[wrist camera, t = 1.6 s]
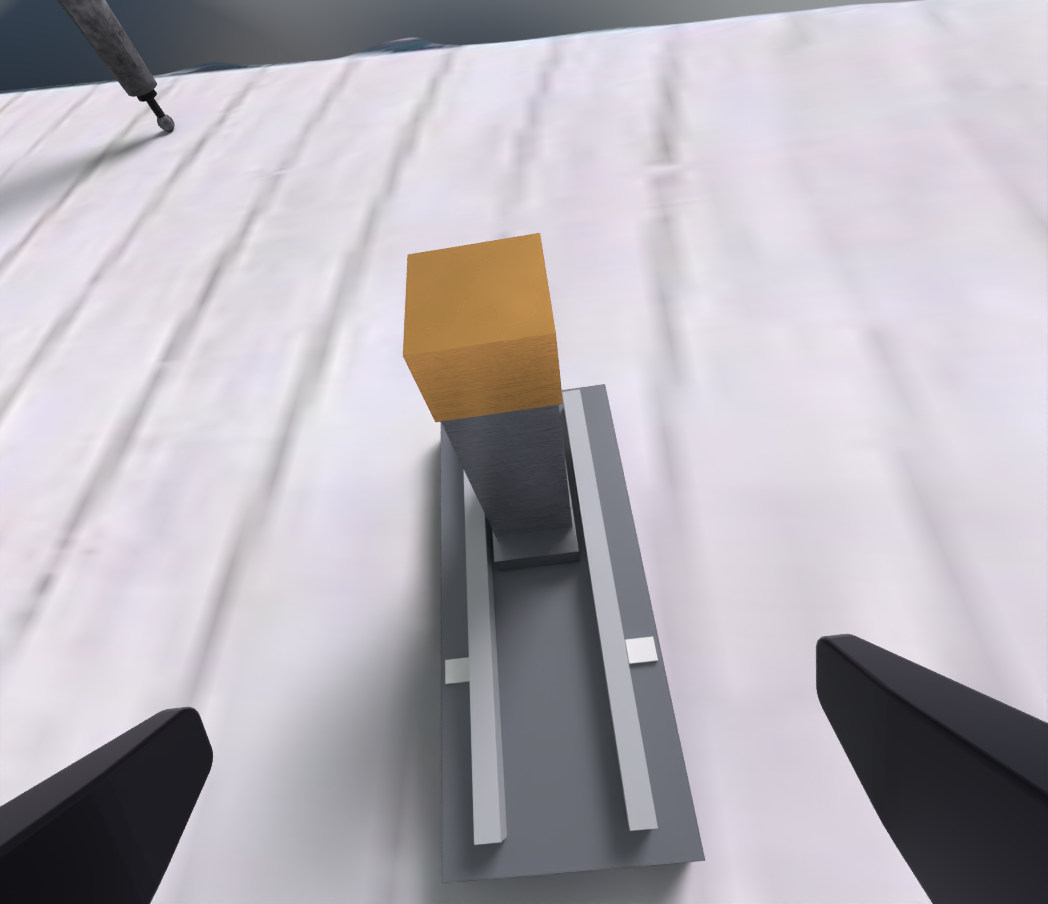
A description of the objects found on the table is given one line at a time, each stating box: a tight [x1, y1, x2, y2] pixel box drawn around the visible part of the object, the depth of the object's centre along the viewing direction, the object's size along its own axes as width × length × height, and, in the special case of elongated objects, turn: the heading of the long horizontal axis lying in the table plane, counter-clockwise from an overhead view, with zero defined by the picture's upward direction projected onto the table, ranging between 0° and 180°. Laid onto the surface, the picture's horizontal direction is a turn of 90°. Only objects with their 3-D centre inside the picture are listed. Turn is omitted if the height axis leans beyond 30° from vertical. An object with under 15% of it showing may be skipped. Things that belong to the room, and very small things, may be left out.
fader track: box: [441, 384, 705, 883], centre depth 20 cm, size 18×8×3 cm, turn 5°
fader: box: [403, 233, 580, 571], centre depth 16 cm, size 5×3×12 cm, turn 5°
